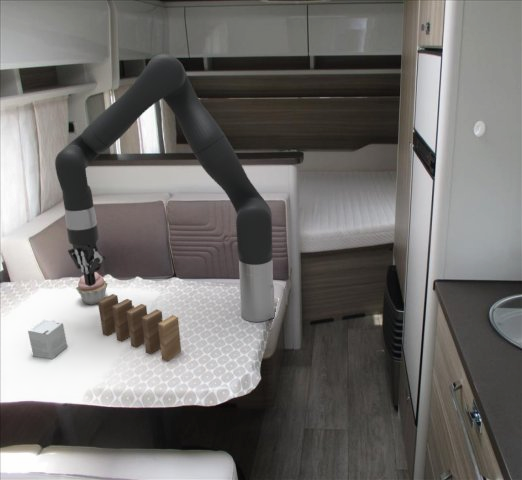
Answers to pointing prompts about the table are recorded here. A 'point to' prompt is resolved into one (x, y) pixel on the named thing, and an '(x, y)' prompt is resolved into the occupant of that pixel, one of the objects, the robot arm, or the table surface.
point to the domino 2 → (122, 319)
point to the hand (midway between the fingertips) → (90, 284)
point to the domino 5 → (169, 338)
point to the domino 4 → (152, 331)
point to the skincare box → (47, 339)
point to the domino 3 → (136, 325)
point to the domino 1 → (107, 314)
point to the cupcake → (92, 290)
